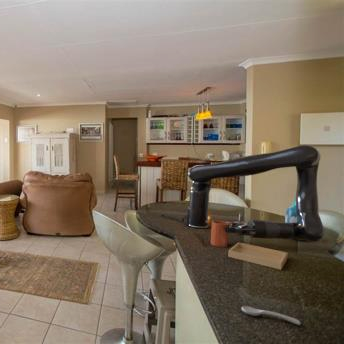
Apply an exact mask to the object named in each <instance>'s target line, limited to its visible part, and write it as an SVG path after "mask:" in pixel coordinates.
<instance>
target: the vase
mask: <svg viewBox="0 0 344 344" xmlns="http://www.w3.org/2000/svg"><path fill="white" fill-rule="evenodd" d="M284 222H286V223H303V222H302V218H301V217H300V216H298V215H297V213H296V197H294V199H293V204H292V205H290V206H288V207H287V209H286V212H285V218H284ZM296 240H298V241H304V240H303V239H296Z"/></svg>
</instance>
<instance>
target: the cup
mask: <svg viewBox="0 0 344 344" xmlns="http://www.w3.org/2000/svg"><path fill="white" fill-rule="evenodd" d="M225 227H229V223H228V222H226V221H224V220H211V227H210V229H211V230H210V245H211V246H214V247H218V248H227V247H228V244H229V233H227V232H225Z"/></svg>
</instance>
